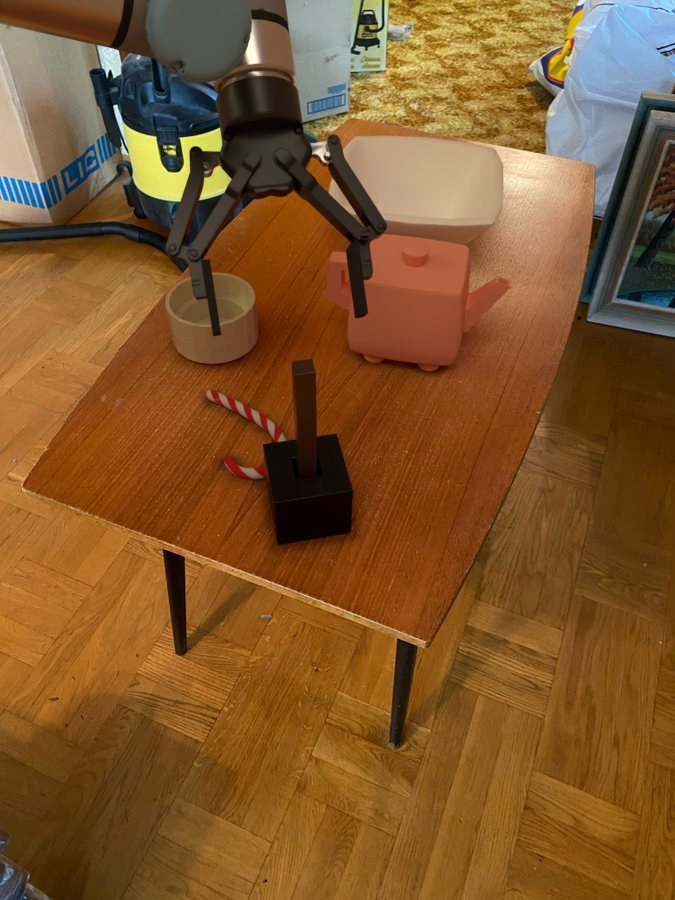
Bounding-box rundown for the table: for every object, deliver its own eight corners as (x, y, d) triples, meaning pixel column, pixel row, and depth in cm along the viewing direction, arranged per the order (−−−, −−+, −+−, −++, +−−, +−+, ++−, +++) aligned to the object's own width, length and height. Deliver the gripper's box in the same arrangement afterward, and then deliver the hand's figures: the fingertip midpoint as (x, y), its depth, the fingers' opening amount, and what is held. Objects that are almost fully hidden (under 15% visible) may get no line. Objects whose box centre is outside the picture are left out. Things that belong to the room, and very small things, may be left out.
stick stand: (277, 545, 72) (273, 502, 66) (267, 487, 77) (262, 443, 71) (351, 533, 73) (353, 490, 68) (336, 476, 78) (336, 433, 72)
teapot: (497, 325, 96) (519, 230, 85) (490, 388, 87) (513, 292, 77) (337, 302, 98) (339, 208, 88) (316, 361, 90) (315, 265, 80)
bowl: (320, 277, 102) (319, 212, 95) (346, 191, 119) (347, 129, 111) (489, 295, 100) (503, 230, 92) (492, 204, 116) (504, 142, 109)
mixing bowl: (162, 362, 90) (153, 321, 85) (187, 309, 97) (180, 268, 92) (248, 371, 89) (243, 330, 84) (266, 317, 96) (263, 276, 91)
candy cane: (231, 377, 86) (304, 450, 78) (232, 385, 87) (304, 458, 79) (174, 404, 83) (244, 484, 75) (176, 412, 84) (245, 492, 76)
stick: (301, 517, 74) (294, 374, 59) (298, 504, 75) (291, 360, 60) (318, 515, 74) (316, 372, 59) (314, 501, 75) (312, 358, 60)
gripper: (380, 98, 70) (409, 314, 72) (121, 119, 66) (157, 346, 68) (399, 61, 63) (430, 302, 64) (108, 82, 59) (149, 337, 61)
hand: (290, 325), depth 66 cm, fingers open, 13 cm apart
